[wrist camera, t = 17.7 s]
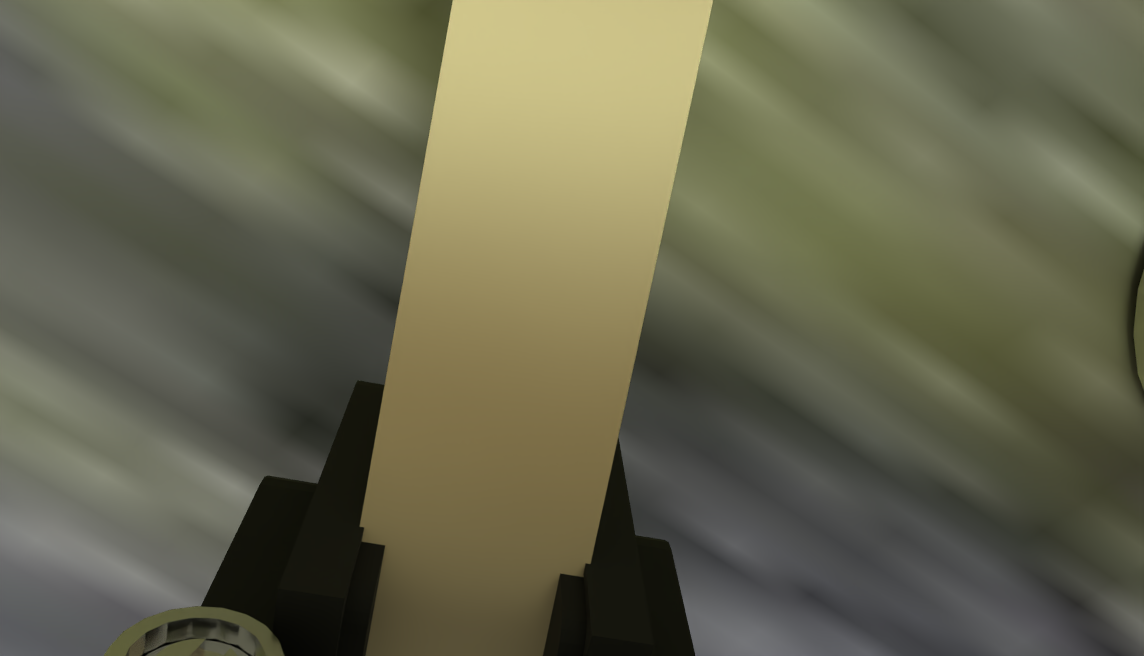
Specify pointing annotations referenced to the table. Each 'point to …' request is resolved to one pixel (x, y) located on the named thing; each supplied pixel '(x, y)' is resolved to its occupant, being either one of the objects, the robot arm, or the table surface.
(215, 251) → the table surface
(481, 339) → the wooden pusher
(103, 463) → the table surface
